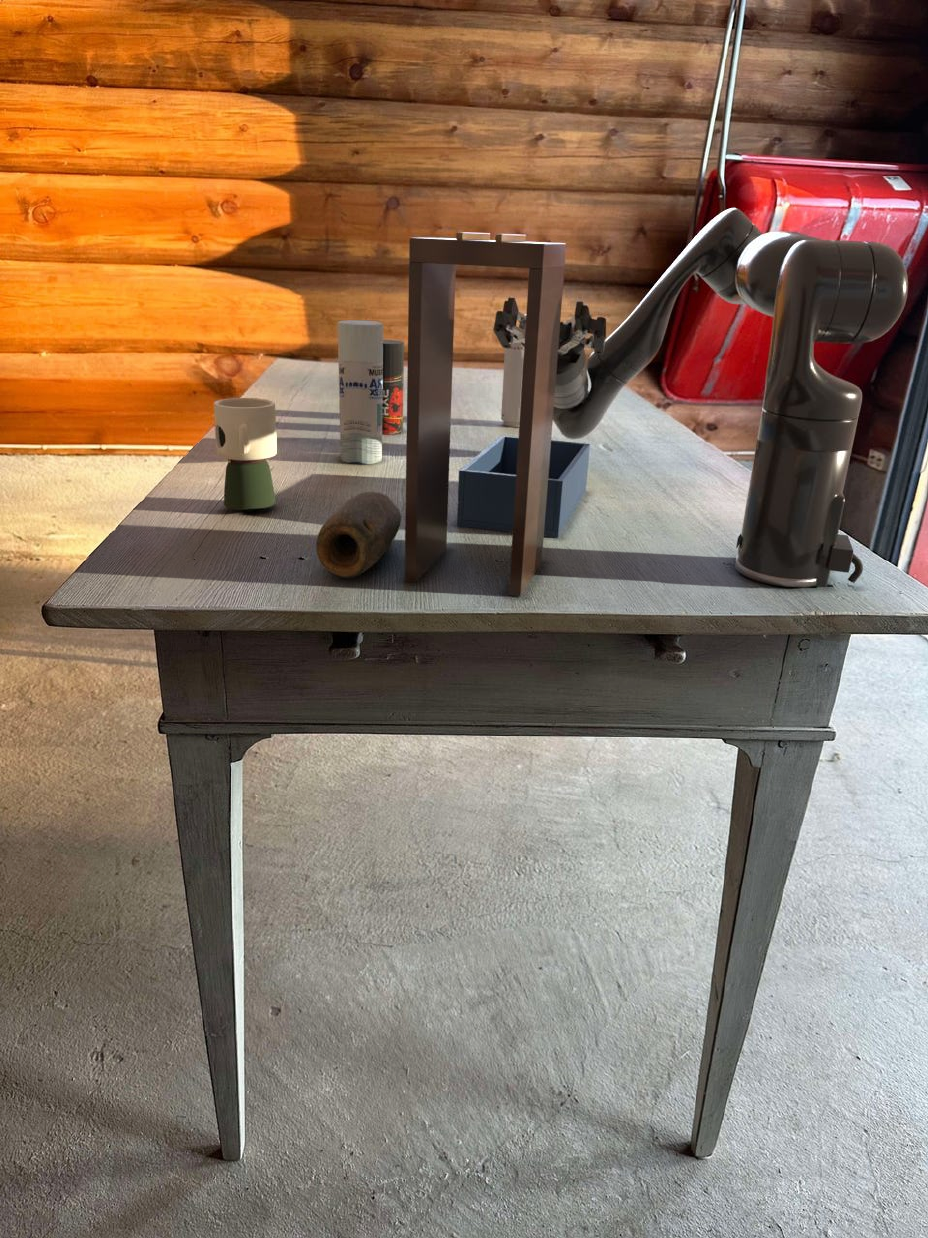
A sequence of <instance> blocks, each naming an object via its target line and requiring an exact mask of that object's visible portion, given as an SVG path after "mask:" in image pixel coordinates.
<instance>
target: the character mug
mask: <svg viewBox="0 0 928 1238" xmlns="http://www.w3.org/2000/svg"><path fill="white" fill-rule="evenodd" d="M213 415H214V433H215V434H214V435H215V444H216V445H215V447H216V453H217V455H218V456H219V457H222V458H225V459H227V461H228V462H227V464H226V467H225V475H224V488H223V489H224V490H223V492H224V493H223V507H225V508H227V509H229V510H234V511H243V510H246V511H247V512H248V513H251V512H252V511H253V510H255V509H263V508H264V509H266V508H271V507H273V506H276V497H275V489H274V482H273V477H272V472H271V471H272V470H271V466H270V464H269V462H268V461H267V460H266V459H269V458H272V457H275V456H276V455H277V454H278V442H277V440H278V439H277V418H276V415H277V414H276V403H275V402H274V401H273V400H270V399H265V398H258V397H232V398H223V399H218V400H215V401H214V402H213Z"/></svg>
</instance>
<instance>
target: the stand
mask: <svg viewBox="0 0 928 1238" xmlns="http://www.w3.org/2000/svg"><path fill="white" fill-rule="evenodd" d="M455 234H456V235H455V238H451V237H409V247H408V248H409V250H408V251H409V252H408V253H409V254H408V303H407V304H408V306H407V307H408V313H407V314H408V315H407V371H406V372H407V375H406V376H407V377H406V378H407V379H406V380H407V382H406V443H405V444H406V445H405V446H406V448H405V451H406V452H405V510H404V511H405V513H404V514H405V515H404V517H405V518H404V522H405V523H404V577H403V578H404V582H409V583H417V582H418V580H420V579H421V577H422V576H423V575H424V574H425V573H426V572H427V571H428V570H429V569H430V568H431V566H433V565H434V564H435V562H437V560H439V558H440V557H441V556H442V555H443V554H444V553H445V552H446V551H447V544H448V542H447V541H448V516H449V515H448V513H449V511H448V510H449V486H450V485H449V483H450V454H451V451H450V450H451V427H452V425H451V424H452V423H451V422H452V397H453V395H452V394H453V368H454V367H453V365H454V364H453V363H454V337H455V335H454V334H455V307H456V305H455V303H456V277H457V275H456V273H457V272H456V271H457V266H474V267H475V266H476V267H477V266H478V267H491V268H493V267H495V268H512V269H528V282H527V300H526V313H525V315H526V329H525V344H524V360H523V376H522V392H521V408H520V424H519V427H518V437H519V440H518V455H517V471H516V487H515V503H514V519H513V532H512V537H511V552H510V567H509V569H510V570H509V585H508V596H511V597H518V598H520V597H522V595H523V593H524V591H526V588H527V587H528V585H529V583H530V582H531V581H532V579H533V578H534V575H535V574H536V572H537V571H538V569H539V567H540V565H541V564H542V561H543V552H544V540H545V539H544V537H545V536H544V526H545V513H546V500H547V487H548V474H549V462H550V449H551V440H552V435H553V423H554V421H553V410H554V397H555V384H556V371H557V358H558V345H559V332H560V322H561V317H562V307H563V306H562V303H563V293H564V291H563V290H564V280H565V279H564V278H565V264H566V252H567V244H566V243H565V242H564V243H563V242H539V241H526V240H527V235H526V234H515V233H514V234H513V233H512V234H511V233H496V234H495V239H491V233H489V232H466V231H465V232H462V231H457V232H456V233H455Z"/></svg>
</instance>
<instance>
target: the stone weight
mask: <svg viewBox="0 0 928 1238" xmlns="http://www.w3.org/2000/svg"><path fill="white" fill-rule="evenodd" d="M401 524H402V513H401V510H400V508H398V506H397V505H396V504H395V503H394V502H393V501H392V500H391V498H390V497H389V496H388V495H386V494H384V493H383V492H379V491H364V492H360V493H358V494H356V495H355V496H352V497H350V499H348V500H347V501H346V502H345V503H344V504H342V505H341V506H340V507H339V508H338V509H337V510H336V511H335V512H334V513H332V515H331V516H330V517H328V519H327V520H326V521H325V522H324V523H323V524H322V526H321V528H320V530H319V531H318V534H317V537H316V546H315V548H316V554H317V558H318V561H319V563H320V564H321V566H322V567H323V568H324V569H325V570H326V571H328V572H329V573H331V574H333V575H335V576H338V577H340V578H341V577H342V578H346V579H349V578H355V577H357V576H359V575H361V574H363V573H365V572H366V571H367V570H368V569H370V568H371V567H373V566H374V565H375V564H377V562H378V561H379V560H380V559H381V557H383V555H384V554H385V552H386V551H387V550H388V549H389V548H390V546H391V545H392V543H393V542H394V539H395V538H396V536H397V534H398V532H399V529H400V527H401Z"/></svg>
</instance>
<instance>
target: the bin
mask: <svg viewBox="0 0 928 1238" xmlns="http://www.w3.org/2000/svg"><path fill="white" fill-rule="evenodd" d="M518 440H519V436H513V435H512V436H511V435H510V436H509V435H500V436H499V437H498V438H497V439H494V441H493V442H492V443H490V444H489V445H488V446H487V447H486V448H485V449H483V450H482V451H480V453H478V454H477V455H476V456H475V457H473V458H472V459H471V460H470V461H468V462H467V463H466V464H465V465H464V466H462V467H461V468H460V469H459V470H458V484H457V485H458V487H457V509H456V510H457V515H456V526H457V527H463V528H464V527H465V528H473V529H482V530H489V531H498V532H499V531H500V532H507V533H513V519H514V503H515V487H516V471H517V455H518ZM590 449H591V444H590V443H585V442H576V441H575V442H573V441H564V440H555V439H554V440H553V439H551V449H550V462H549V474H548V487H547V500H546V513H545V526H544V537H548V538H555V539H556V538H557V539H558V538H559V537H560V535H561V534H562V532H563V530H564V529H565V527H566V525H567V523H568V522H569V521H570V519H571V517H572V516H573V514H574V512H575V511H576V509H577V507H578V506H579V504H580V502H581V501H582V499H583V497H584V496H585V495H586V492H587V482H588V470H589V459H590Z"/></svg>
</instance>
